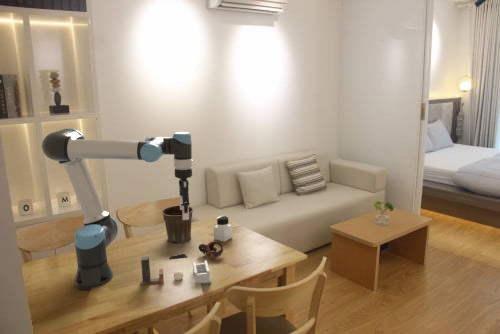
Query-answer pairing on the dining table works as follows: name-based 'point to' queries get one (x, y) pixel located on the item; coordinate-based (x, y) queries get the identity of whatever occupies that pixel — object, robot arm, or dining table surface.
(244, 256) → the dining table surface
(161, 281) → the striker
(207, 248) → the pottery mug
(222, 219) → the medicine bottle
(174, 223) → the plant pot
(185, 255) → the phone
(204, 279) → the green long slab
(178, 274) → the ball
